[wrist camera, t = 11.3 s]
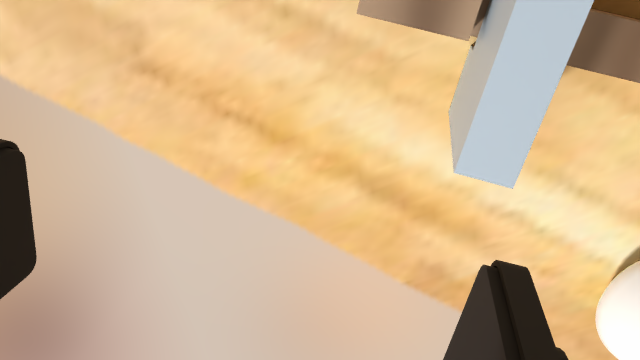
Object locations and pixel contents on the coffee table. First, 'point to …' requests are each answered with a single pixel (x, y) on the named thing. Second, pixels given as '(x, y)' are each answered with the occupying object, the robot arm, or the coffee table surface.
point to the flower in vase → (621, 314)
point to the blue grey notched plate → (510, 84)
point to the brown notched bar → (470, 8)
